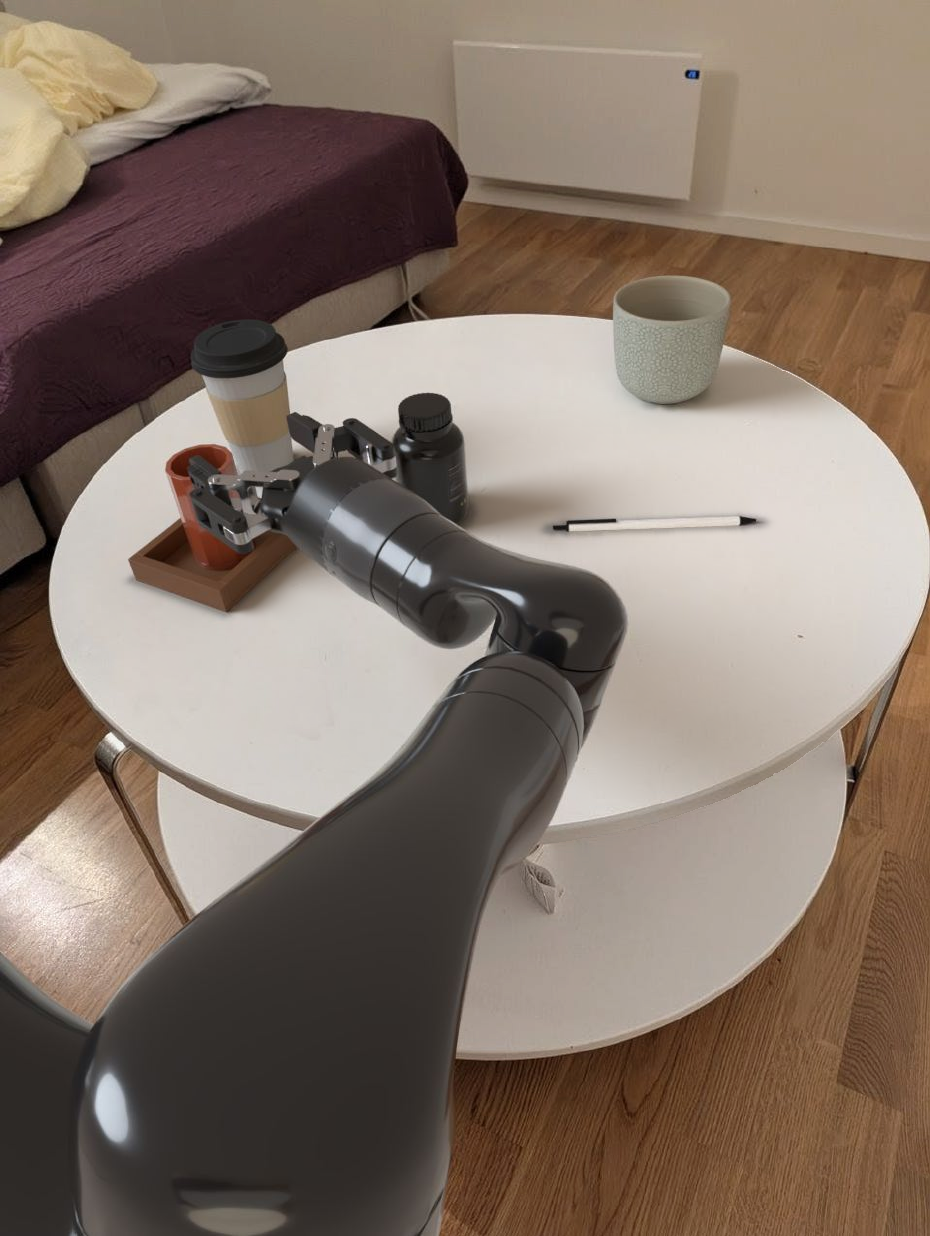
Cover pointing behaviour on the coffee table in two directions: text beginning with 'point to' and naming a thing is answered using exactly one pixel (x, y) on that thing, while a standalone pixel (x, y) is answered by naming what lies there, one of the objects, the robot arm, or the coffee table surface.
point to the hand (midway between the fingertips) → (245, 445)
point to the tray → (180, 574)
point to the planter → (669, 336)
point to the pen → (652, 523)
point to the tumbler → (201, 541)
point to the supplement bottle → (432, 454)
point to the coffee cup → (247, 390)
